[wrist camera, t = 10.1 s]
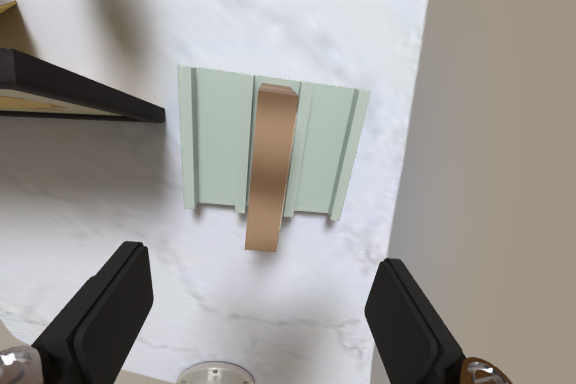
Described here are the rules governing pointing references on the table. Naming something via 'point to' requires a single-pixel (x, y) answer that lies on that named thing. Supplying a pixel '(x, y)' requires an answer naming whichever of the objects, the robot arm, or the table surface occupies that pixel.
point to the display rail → (240, 139)
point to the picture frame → (63, 92)
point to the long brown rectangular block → (270, 164)
